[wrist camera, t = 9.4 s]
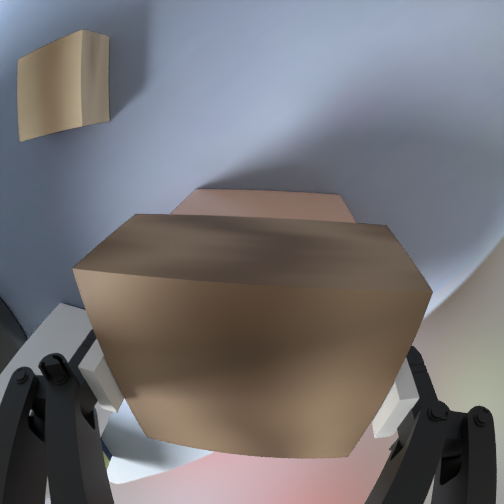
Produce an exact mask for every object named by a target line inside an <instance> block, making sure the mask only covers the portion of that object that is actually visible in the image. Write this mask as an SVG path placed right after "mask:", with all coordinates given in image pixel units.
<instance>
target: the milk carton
mask: <svg viewBox="0 0 504 504" xmlns="http://www.w3.org/2000/svg"><path fill="white" fill-rule="evenodd" d="M92 329H93V328H92V325H91V323H90V320H89V317H88V315H87V312H86V310H84V309H80V308H77V307H73V306H70V305H67V304H63V303H59V304H58V305H57V307H56V308H55V309H54V310H53V311H52V312H51V313H50V314H49V315H48V317H47V318H46V319H45V320H44V321H43V322H42V323H41V325H40V326H39V327H38V328H37V329H36V330H35V332H34V333H33V334H32V335H31V336H30V338H29V339H28V340H27V341H26V342H25V344H24V345H23V346H22V347H21V349H20V350H19V351H18V352H17V354H16V355H15V356H14V357H13V359H12V360H11V361H10V362H9V364H8V365H7V366H6V368H5V369H4V370H3V372H2V373H1V374H0V404H1V401H2V398H3V396H4V393H5V390H6V388H7V385H8V383H9V380H10V378H11V376H12V374H13V372H14V371H15V370H17V369H18V368H20V367H25V366H26V367H30V368H31V369H32V370H33V372H34V373H35V375H43V374H42V372H41V371H40V369H39V368H38V365H39V362H40V361H41V360H42V358H44V357H45V356H46V355H48V354H51V353H59V354H62V355H63V356H64V357H65V358H66V360H67V362H69V361H70V359H71V358H72V356H73V355H74V353H75V352H76V351H77V349H78V348H79V346H80V345H81V343H82V342H83V341H84V339H86V336H87V335H88V334H89V332H90V331H91V330H92ZM95 408H96V411H97V416H98V424H99V431H100V438H101V436H102V433H103V431H104V429H105V427H106V425H107V423H108V421H109V418H110V416H111V414H112V412H113V411H109V410H106V409H103V408H102V407H101V405H100V404H99V402H98V401H97V403H96V405H95ZM30 414H31V410H30ZM30 414H29V415H30ZM47 498H50V492H49V484H48V477H47V485H46V495H45V499H47Z"/></svg>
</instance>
